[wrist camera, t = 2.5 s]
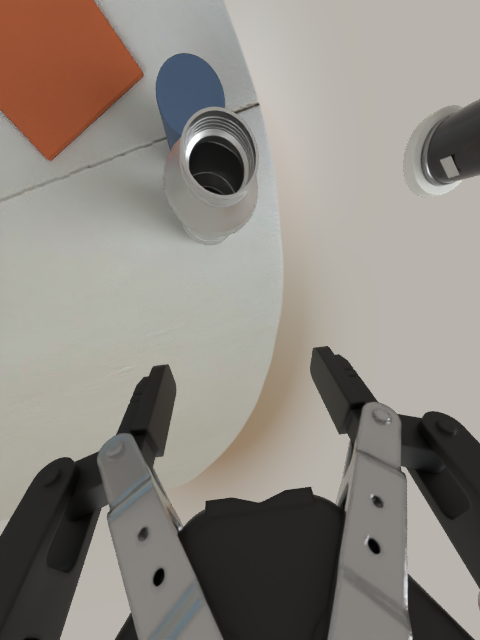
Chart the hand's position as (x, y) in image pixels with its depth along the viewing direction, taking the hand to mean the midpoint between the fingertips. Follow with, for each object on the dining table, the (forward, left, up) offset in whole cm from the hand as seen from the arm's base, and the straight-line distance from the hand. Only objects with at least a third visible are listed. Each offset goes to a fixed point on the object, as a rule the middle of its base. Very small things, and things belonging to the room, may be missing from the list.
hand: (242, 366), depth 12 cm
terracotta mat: (-3, -30, -21) cm, 37 cm away
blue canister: (-10, -16, -21) cm, 28 cm away
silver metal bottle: (-6, -9, -21) cm, 24 cm away
